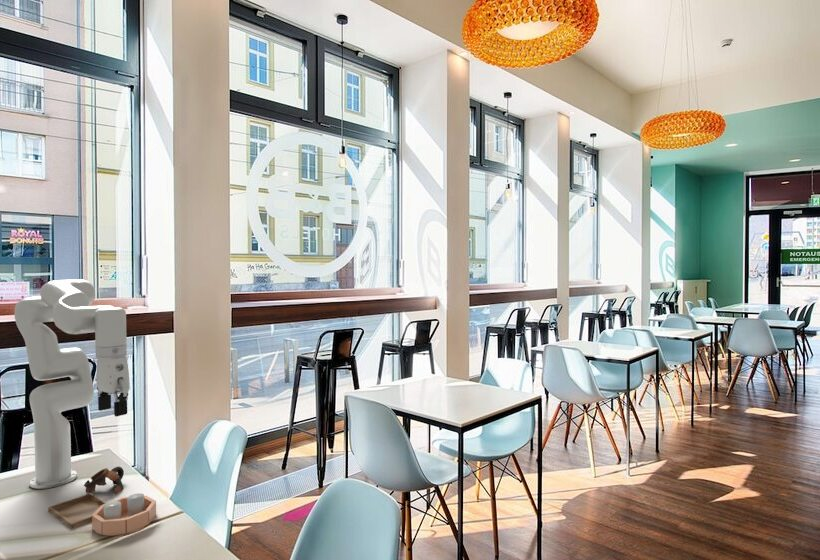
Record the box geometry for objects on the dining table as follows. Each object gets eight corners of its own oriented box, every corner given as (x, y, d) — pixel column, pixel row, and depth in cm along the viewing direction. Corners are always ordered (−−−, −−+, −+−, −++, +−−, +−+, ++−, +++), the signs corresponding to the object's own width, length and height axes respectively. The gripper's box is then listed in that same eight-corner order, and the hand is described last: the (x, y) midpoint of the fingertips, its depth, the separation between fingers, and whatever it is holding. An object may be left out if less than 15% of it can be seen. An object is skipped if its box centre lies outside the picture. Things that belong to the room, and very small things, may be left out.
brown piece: (114, 501, 150) (97, 480, 148) (90, 512, 152) (73, 491, 150) (138, 475, 162) (122, 455, 160) (115, 485, 164) (100, 466, 162)
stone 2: (139, 511, 141) (139, 492, 141) (147, 515, 139) (146, 495, 139) (125, 517, 138) (124, 497, 138) (132, 521, 136) (131, 501, 135)
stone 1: (115, 520, 136) (114, 500, 136) (125, 523, 135) (124, 502, 135) (100, 527, 133) (100, 506, 133) (110, 530, 131) (109, 509, 131)
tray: (48, 513, 142) (48, 507, 142) (91, 498, 151) (91, 492, 151) (71, 531, 132) (71, 524, 132) (116, 514, 141) (116, 507, 141)
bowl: (85, 526, 135) (84, 510, 135) (139, 506, 146) (138, 491, 146) (109, 543, 126) (108, 526, 126) (164, 520, 138) (164, 505, 138)
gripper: (140, 352, 140) (141, 414, 140) (111, 347, 150) (112, 404, 150) (111, 356, 134) (112, 421, 134) (83, 350, 144) (84, 410, 144)
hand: (112, 412), depth 142 cm, fingers open, 9 cm apart
